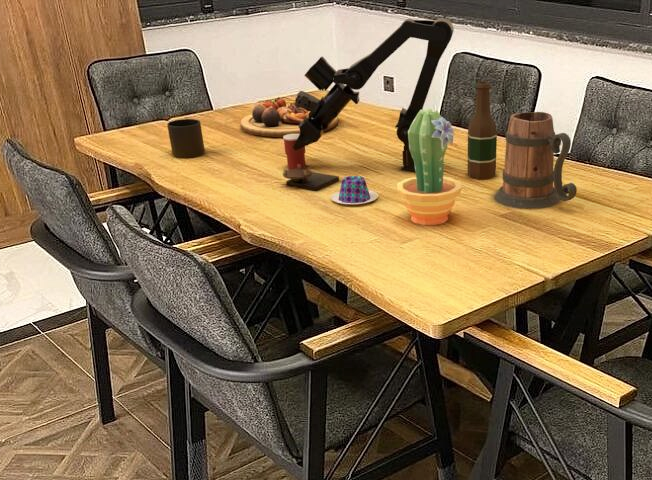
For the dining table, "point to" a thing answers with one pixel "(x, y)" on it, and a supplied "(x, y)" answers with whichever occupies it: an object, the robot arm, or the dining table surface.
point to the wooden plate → (276, 119)
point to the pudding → (354, 191)
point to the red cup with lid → (294, 152)
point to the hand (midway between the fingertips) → (297, 144)
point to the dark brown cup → (186, 138)
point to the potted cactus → (429, 170)
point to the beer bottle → (482, 137)
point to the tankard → (534, 163)
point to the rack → (308, 179)
